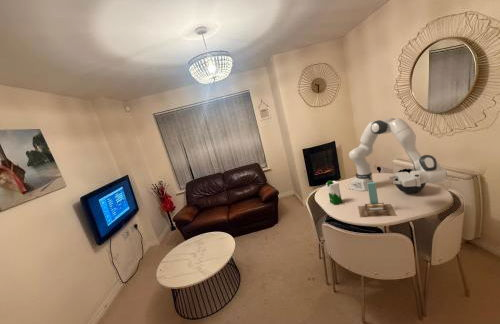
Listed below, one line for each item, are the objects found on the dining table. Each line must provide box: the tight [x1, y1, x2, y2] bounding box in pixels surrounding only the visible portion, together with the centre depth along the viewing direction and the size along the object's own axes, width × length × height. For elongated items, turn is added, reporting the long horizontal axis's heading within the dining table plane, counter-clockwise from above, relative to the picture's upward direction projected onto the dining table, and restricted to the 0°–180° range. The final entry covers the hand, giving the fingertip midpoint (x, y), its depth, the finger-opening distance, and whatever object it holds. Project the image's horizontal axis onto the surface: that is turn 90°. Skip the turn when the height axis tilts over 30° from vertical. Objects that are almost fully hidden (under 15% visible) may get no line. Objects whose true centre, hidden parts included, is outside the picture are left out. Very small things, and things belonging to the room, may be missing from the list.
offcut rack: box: [357, 202, 398, 218], centre depth 157 cm, size 22×18×4 cm
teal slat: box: [367, 181, 380, 204], centre depth 158 cm, size 5×2×20 cm, turn 68°
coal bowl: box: [394, 168, 427, 194], centre depth 171 cm, size 20×20×19 cm
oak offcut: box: [367, 203, 384, 209], centre depth 156 cm, size 10×2×5 cm, turn 68°
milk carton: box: [325, 180, 343, 206], centre depth 186 cm, size 9×9×20 cm
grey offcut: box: [370, 207, 383, 211], centre depth 153 cm, size 8×2×4 cm, turn 68°
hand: (391, 180), depth 151 cm, fingers open, 8 cm apart
